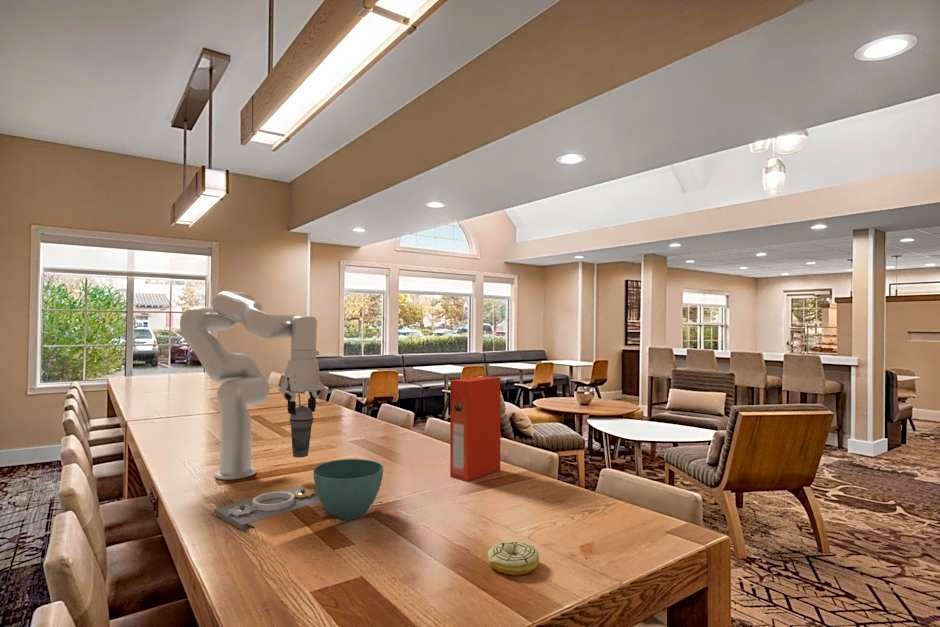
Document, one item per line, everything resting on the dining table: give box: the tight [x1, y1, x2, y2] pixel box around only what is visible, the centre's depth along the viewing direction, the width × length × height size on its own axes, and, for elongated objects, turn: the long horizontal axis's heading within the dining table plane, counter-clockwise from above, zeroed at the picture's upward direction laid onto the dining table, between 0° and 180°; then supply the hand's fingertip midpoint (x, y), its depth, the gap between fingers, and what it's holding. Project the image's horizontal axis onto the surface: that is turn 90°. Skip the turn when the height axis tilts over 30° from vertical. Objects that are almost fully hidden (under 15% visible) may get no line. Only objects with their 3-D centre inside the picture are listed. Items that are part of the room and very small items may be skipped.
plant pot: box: [312, 458, 384, 521], centre depth 139 cm, size 18×18×12 cm
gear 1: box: [227, 505, 256, 518], centre depth 136 cm, size 7×7×2 cm
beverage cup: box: [289, 392, 314, 458], centre depth 164 cm, size 7×7×20 cm
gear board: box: [213, 486, 322, 532], centre depth 142 cm, size 16×25×3 cm, turn 139°
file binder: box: [449, 375, 501, 482], centre depth 177 cm, size 8×17×32 cm, turn 140°
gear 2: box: [291, 488, 317, 500], centre depth 149 cm, size 7×7×2 cm
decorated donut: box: [487, 541, 540, 576], centre depth 111 cm, size 10×11×4 cm
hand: (301, 412), depth 164 cm, fingers closed on beverage cup, 6 cm apart
